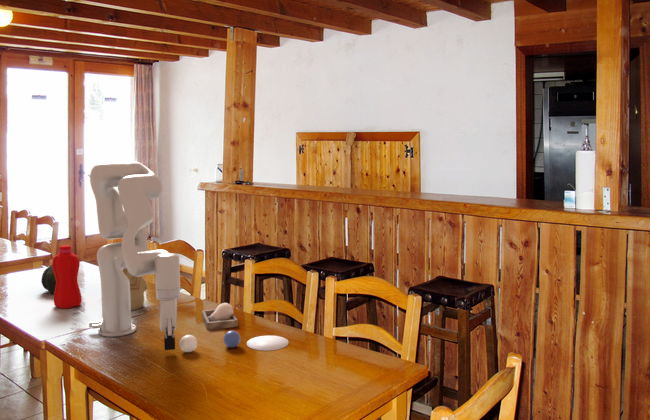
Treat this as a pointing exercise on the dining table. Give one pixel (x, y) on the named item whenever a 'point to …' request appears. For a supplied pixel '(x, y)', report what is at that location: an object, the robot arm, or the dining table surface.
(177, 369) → the dining table surface
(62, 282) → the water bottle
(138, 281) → the ceramic vessel
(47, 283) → the squash
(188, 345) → the cue ball
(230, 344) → the object ball
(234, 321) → the brown wooden tray
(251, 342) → the white round disc
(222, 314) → the light bulb
